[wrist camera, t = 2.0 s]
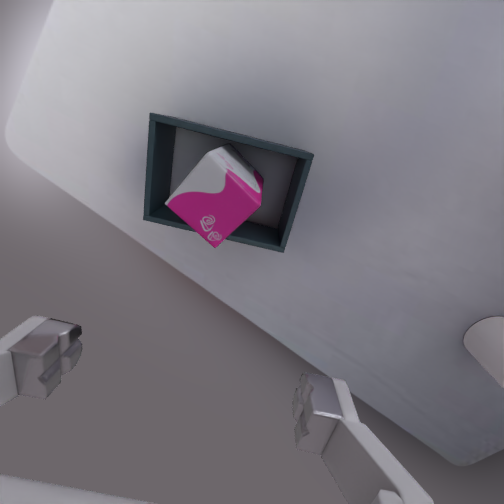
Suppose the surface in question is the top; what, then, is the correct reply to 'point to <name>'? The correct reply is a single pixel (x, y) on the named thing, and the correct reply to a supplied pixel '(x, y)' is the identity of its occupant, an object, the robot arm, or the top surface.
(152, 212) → the case
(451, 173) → the top surface
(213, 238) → the supplement box
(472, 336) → the cylindrical container
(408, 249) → the top surface
